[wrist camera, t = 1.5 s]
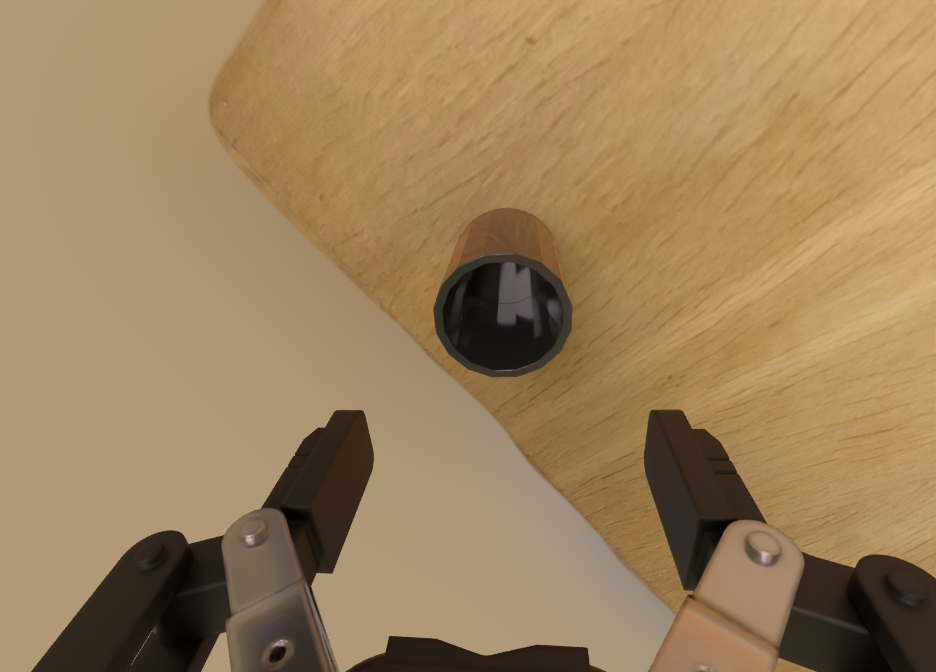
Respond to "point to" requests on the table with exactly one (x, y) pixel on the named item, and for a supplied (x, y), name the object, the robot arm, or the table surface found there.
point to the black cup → (504, 296)
